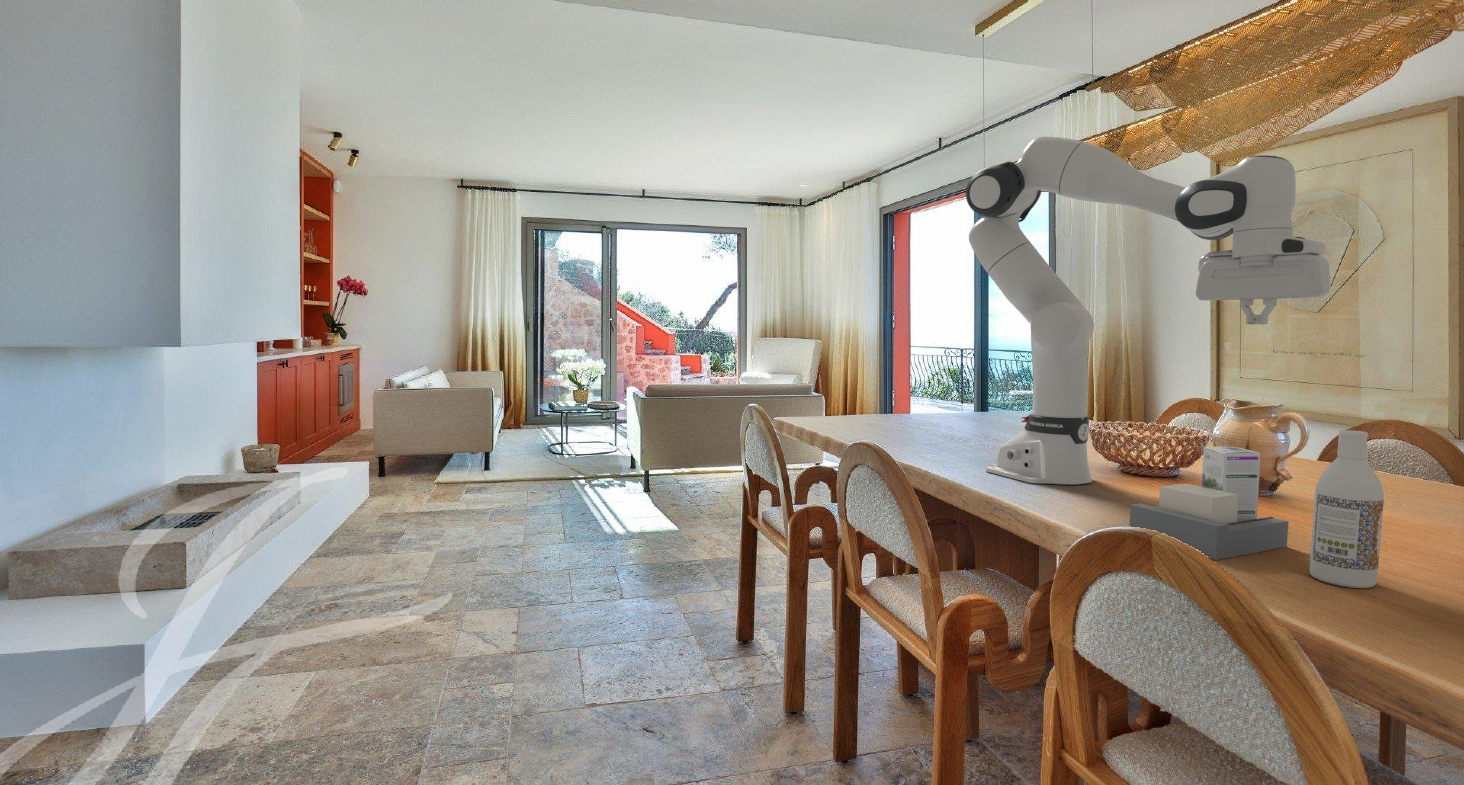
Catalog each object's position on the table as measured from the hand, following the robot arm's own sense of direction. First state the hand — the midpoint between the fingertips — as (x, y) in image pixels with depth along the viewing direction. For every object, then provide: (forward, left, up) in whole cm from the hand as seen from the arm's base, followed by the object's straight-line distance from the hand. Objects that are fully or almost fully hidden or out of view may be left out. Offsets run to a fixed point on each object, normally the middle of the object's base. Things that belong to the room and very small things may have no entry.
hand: (1256, 324), depth 135 cm
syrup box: (+7, -25, -34) cm, 43 cm away
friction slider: (+6, -32, -34) cm, 47 cm away
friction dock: (+6, -29, -34) cm, 45 cm away
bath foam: (+25, -34, -34) cm, 54 cm away
